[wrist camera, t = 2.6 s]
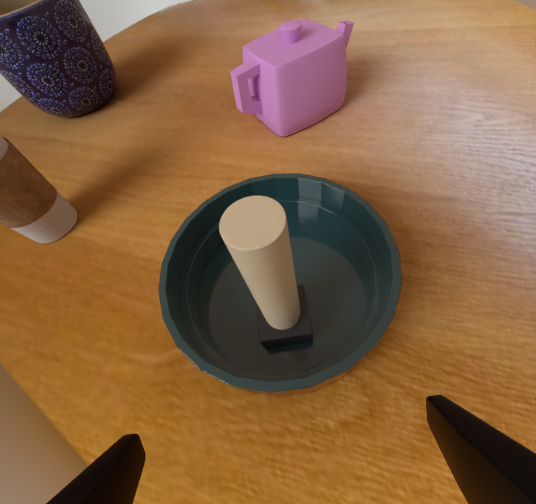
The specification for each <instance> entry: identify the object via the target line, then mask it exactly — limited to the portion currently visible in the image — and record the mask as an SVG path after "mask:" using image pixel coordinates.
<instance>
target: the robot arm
mask: <svg viewBox="0 0 536 504" xmlns="http://www.w3.org/2000/svg"><path fill="white" fill-rule="evenodd" d="M426 409H427V421H428V424H429V427H430V429H431V431H432V433H433V435H434V437H435V439H436V441H437V443H438V446H439V448H440V450H441V452H442V454H443V456H444V458H445V460H446V462H447V464H448V466H449V468H450V470H451V472H452V474H453V476H454V478H455V480H456V482H457V484H458V486H459V488H460V490H461V491H462V493H463V495H464V497H465V498H466V500H467V502H468V503H469V504H536V454H535V453H534V452H532V451H531V450H529V449H527V448H526V447H524V446H523V445H521V444H519V443H518V442H516V441H515V440H513V439H511V438H510V437H508V436H507V435H505V434H503V433H502V432H500V431H499V430H497V429H495V428H494V427H492V426H491V425H489V424H487V423H486V422H484V421H483V420H481V419H479V418H478V417H476V416H475V415H473V414H471V413H470V412H468V411H467V410H465V409H463V408H462V407H460V406H459V405H457V404H455V403H454V402H452V401H451V400H449V399H447V398H446V397H444V396H442V395H434V396H428V397H427V398H426ZM144 463H145V451H144V448H143V445H142V443H141V440H140V437H139V435H138V434H127V435H124V436H122V437H121V438H120V439H119V440H118V441H117V442H115V443H114V444H113V445H112V446H111V447H110V448H109V449H108V450H106V451H105V452H104V453H103V454H102V455H101V456H100V457H99V458H97V459H96V460H95V461H94V462H93V463H92V464H91V465H89V466H88V467H87V468H86V469H85V470H84V471H83V472H82V473H80V474H79V475H78V476H77V477H76V478H75V479H74V480H72V481H71V482H70V483H69V484H68V485H67V486H66V487H65V488H63V489H62V490H61V491H60V492H59V493H58V494H57V495H56V496H54V497H53V498H52V499H51V500H50V501H49V502H48V503H46V504H133V501H134V497H135V494H136V491H137V487H138V484H139V480H140V477H141V474H142V470H143V467H144Z"/></svg>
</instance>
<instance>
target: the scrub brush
mask: <svg viewBox="0 0 536 504" xmlns="http://www.w3.org/2000/svg"><path fill="white" fill-rule="evenodd" d="M219 231H220V235H221V237H222V239H223V241H224V243H225V244H226V246H227V248H228V250H229V252H230V254H231V256H232V258H233V259H234V261H235V263H236V265H237V267H238V269H239V271H240V272H241V274H242V276H243V278H244V280H245V282H246V284H247V286H248V287H249V289H250V291H251V293H252V295H253V297H254V299H255V300H256V309H257V320H258V332H259V341H260V343H261V344H262V345H263V347H264V348H272V347H279V346H286V345H292V344H299V343H306V342H312V341H313V331H312V326H311V321H310V316H309V311H308V306H307V301H306V296H305V290H304V285H296V278H295V271H294V265H293V258H292V251H291V245H290V238H289V232H288V225H287V218H286V213H285V211H284V209H283V207H282V206H281V205H280V204H279V203H278V202H277V201H276V200H274V199H272V198H270V197H266V196H249V197H245V198H242V199H240V200H238V201H236V202H234V203H233V204H231V205H230V206H229V207H228V208H227V209H226V210H225V212H224V213H223V215H222V217H221V220H220V224H219Z"/></svg>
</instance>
